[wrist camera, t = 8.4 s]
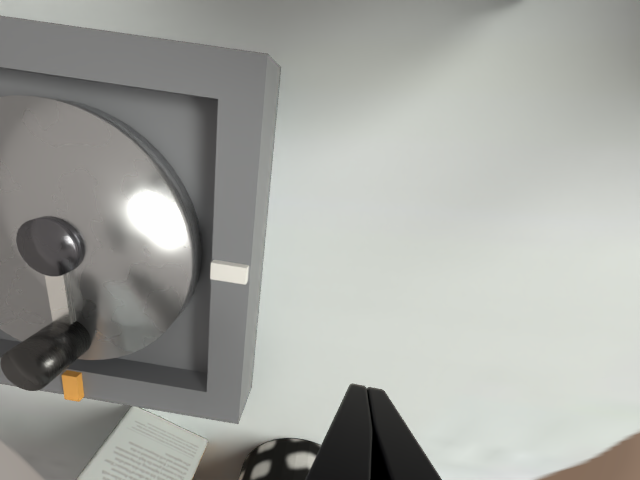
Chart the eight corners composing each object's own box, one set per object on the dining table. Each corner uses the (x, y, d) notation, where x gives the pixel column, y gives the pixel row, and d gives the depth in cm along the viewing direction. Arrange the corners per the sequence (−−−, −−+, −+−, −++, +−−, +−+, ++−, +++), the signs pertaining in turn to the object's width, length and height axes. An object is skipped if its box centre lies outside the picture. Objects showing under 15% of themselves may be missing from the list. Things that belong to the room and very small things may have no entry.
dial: (-77, 83, 16) (-216, 68, 12) (202, 114, 16) (153, 109, 12) (-17, 328, 21) (-104, 375, 17) (203, 358, 20) (167, 415, 16)
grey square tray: (-105, 11, 17) (-209, -16, 14) (281, 67, 17) (265, 51, 13) (-29, 340, 23) (-89, 374, 20) (251, 387, 23) (236, 429, 20)
